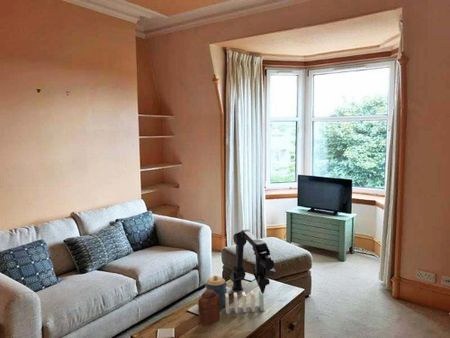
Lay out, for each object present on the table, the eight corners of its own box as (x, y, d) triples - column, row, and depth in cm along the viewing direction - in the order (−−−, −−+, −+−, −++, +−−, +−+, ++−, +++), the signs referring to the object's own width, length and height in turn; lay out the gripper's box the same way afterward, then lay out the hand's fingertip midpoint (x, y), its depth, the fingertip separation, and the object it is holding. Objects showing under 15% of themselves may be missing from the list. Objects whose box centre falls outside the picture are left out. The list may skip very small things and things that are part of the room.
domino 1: (225, 309, 202) (225, 293, 201) (228, 309, 202) (227, 293, 201) (226, 313, 197) (226, 297, 196) (229, 313, 197) (228, 297, 196)
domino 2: (234, 308, 203) (233, 292, 202) (236, 308, 203) (236, 292, 202) (235, 313, 198) (234, 296, 197) (237, 313, 198) (237, 296, 197)
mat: (221, 309, 203) (221, 308, 203) (262, 306, 205) (262, 305, 205) (222, 315, 196) (222, 315, 196) (265, 312, 198) (265, 311, 198)
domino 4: (250, 307, 204) (250, 291, 203) (253, 307, 204) (253, 291, 203) (252, 311, 199) (251, 295, 198) (255, 311, 199) (254, 295, 198)
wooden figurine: (215, 315, 196) (214, 285, 194) (221, 320, 191) (220, 289, 189) (197, 322, 190) (195, 291, 188) (203, 328, 184) (201, 295, 182)
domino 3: (242, 308, 203) (242, 291, 202) (245, 307, 203) (244, 291, 202) (243, 312, 198) (243, 295, 197) (246, 312, 198) (246, 295, 197)
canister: (231, 302, 211) (230, 274, 209) (216, 311, 201) (216, 282, 200) (216, 296, 220) (215, 269, 218) (201, 304, 210) (200, 276, 208)
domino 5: (259, 306, 204) (258, 290, 203) (261, 306, 204) (261, 290, 203) (260, 311, 199) (260, 294, 198) (263, 310, 199) (263, 294, 198)
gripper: (278, 269, 190) (278, 296, 192) (270, 257, 209) (270, 282, 210) (258, 270, 189) (259, 297, 191) (252, 258, 208) (252, 283, 209)
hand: (261, 289), depth 200 cm, fingers open, 9 cm apart
